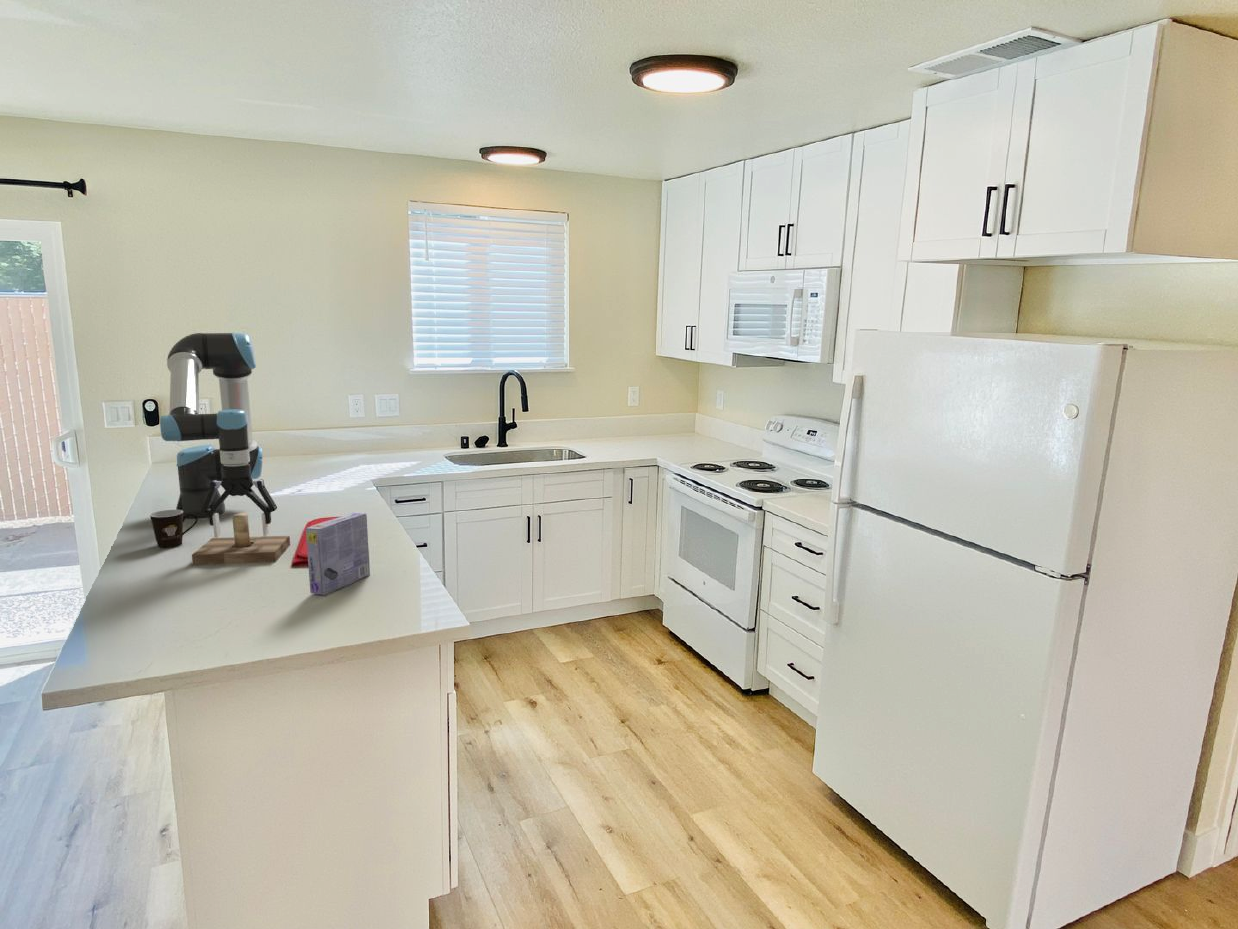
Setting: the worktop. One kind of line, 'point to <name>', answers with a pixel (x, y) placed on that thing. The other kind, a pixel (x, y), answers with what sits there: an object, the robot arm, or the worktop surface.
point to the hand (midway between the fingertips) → (241, 535)
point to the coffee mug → (169, 527)
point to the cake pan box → (337, 553)
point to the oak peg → (241, 530)
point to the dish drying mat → (301, 551)
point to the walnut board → (241, 550)
